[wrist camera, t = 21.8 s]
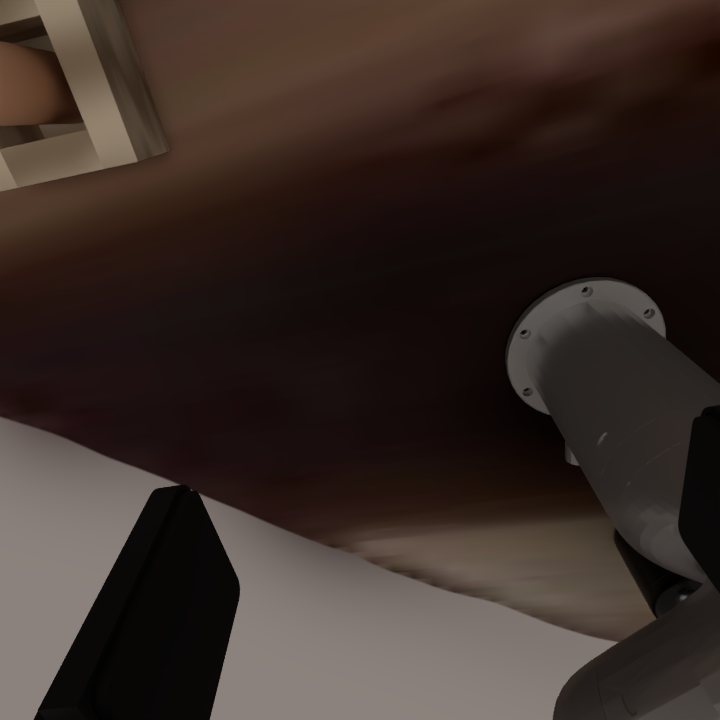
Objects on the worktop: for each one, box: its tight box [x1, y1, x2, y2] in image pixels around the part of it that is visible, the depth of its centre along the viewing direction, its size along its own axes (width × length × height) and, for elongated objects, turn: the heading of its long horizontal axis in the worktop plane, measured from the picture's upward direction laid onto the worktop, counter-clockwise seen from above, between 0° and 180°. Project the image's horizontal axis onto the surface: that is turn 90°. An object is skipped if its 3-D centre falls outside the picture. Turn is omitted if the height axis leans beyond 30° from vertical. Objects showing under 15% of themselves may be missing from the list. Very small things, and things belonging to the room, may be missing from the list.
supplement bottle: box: [615, 530, 703, 618], centre depth 47 cm, size 7×7×12 cm
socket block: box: [0, 0, 170, 191], centre depth 31 cm, size 10×10×6 cm
